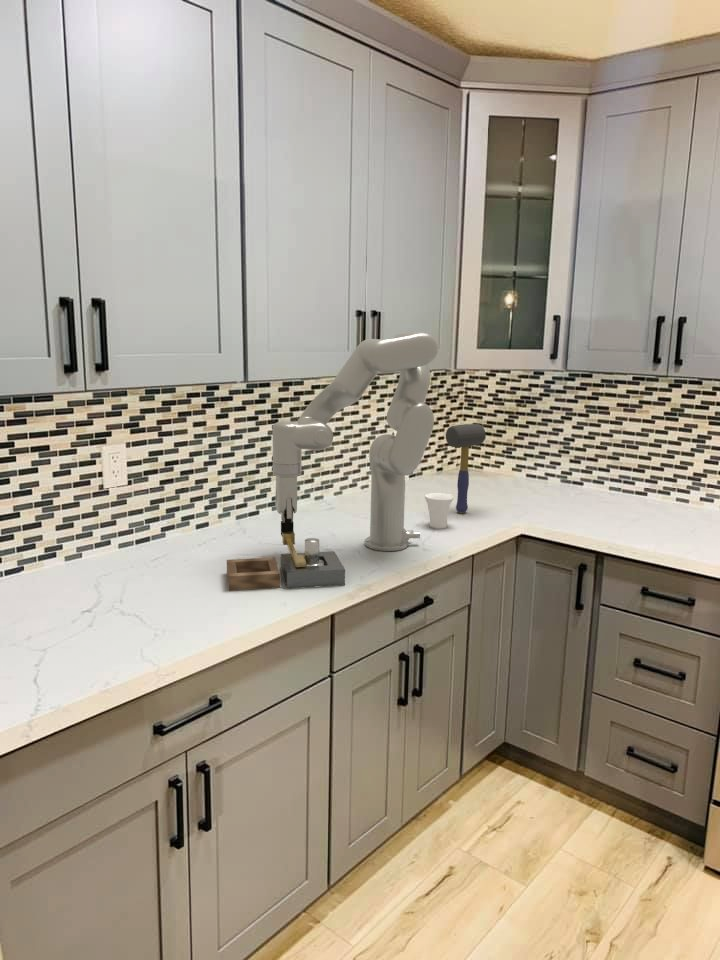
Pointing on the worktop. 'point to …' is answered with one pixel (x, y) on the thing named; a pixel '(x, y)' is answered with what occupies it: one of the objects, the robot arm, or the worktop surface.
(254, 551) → the worktop surface
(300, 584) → the spindle block
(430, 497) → the cup
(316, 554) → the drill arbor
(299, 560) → the brass key
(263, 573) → the frame
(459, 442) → the rubber mallet
